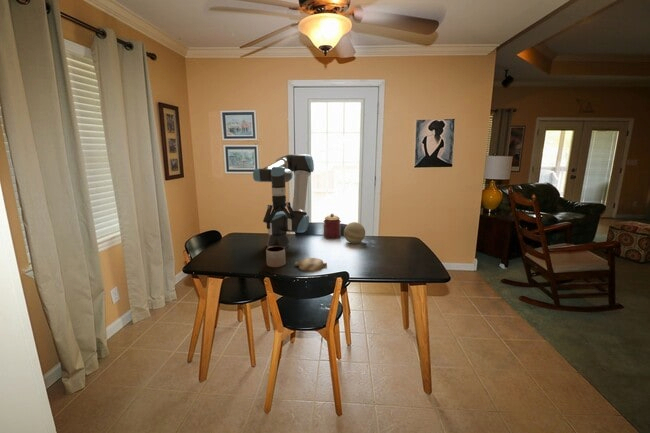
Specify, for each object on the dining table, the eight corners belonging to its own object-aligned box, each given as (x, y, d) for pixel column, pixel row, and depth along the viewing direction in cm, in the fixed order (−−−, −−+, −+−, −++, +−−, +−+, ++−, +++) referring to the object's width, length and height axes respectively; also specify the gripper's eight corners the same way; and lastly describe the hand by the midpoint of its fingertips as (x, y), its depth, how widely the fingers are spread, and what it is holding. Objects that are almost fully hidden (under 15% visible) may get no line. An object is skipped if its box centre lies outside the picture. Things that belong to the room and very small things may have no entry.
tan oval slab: (293, 270, 168) (293, 266, 168) (297, 261, 182) (297, 257, 181) (326, 271, 167) (326, 267, 167) (327, 262, 181) (327, 258, 180)
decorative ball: (350, 238, 227) (351, 219, 223) (368, 242, 218) (369, 221, 215) (339, 243, 215) (339, 223, 212) (358, 247, 206) (358, 226, 203)
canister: (322, 238, 228) (322, 215, 224) (325, 233, 241) (325, 211, 237) (339, 239, 226) (339, 215, 222) (341, 234, 238) (341, 212, 235)
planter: (267, 261, 183) (266, 245, 181) (286, 260, 184) (285, 245, 181) (265, 268, 172) (264, 252, 170) (285, 267, 173) (284, 251, 171)
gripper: (263, 198, 158) (265, 237, 163) (300, 193, 175) (301, 229, 180) (255, 196, 163) (257, 234, 168) (292, 192, 180) (293, 226, 185)
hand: (280, 232), depth 174 cm, fingers open, 13 cm apart
